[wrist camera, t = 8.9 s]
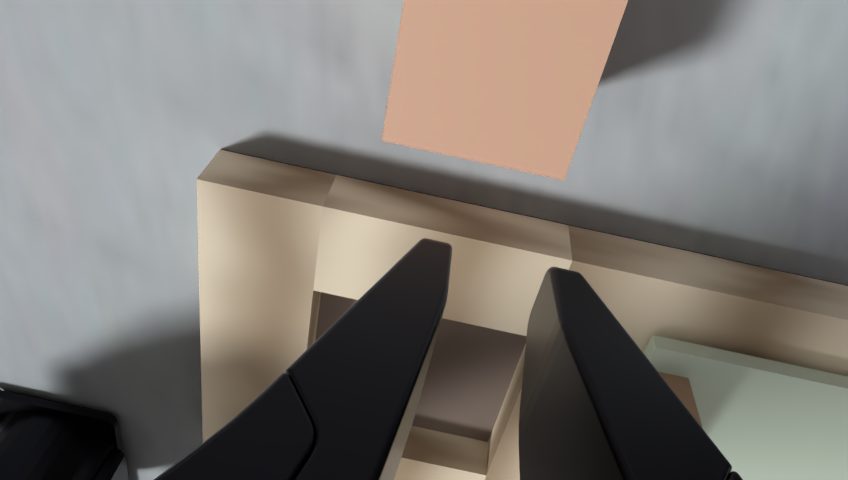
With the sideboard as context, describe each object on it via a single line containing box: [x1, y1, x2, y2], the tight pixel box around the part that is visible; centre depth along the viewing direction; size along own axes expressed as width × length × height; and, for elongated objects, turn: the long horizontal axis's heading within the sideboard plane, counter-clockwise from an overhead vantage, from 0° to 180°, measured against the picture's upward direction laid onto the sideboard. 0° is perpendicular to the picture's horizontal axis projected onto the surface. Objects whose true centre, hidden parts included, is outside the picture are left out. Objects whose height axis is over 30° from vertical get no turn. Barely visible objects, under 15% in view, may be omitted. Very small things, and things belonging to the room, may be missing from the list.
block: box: [382, 0, 628, 180], centre depth 17 cm, size 4×4×5 cm
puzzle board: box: [197, 150, 848, 480], centre depth 26 cm, size 24×15×2 cm, turn 80°
